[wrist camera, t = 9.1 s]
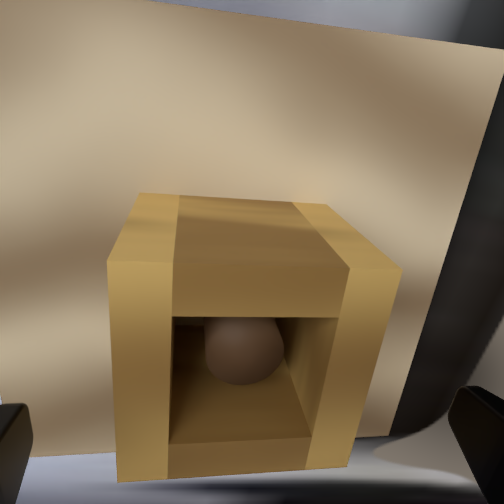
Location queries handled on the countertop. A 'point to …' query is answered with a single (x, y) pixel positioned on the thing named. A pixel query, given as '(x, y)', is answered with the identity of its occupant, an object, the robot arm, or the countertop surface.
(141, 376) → the wooden crate frame
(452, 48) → the post board
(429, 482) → the countertop surface
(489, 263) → the countertop surface
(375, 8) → the countertop surface
